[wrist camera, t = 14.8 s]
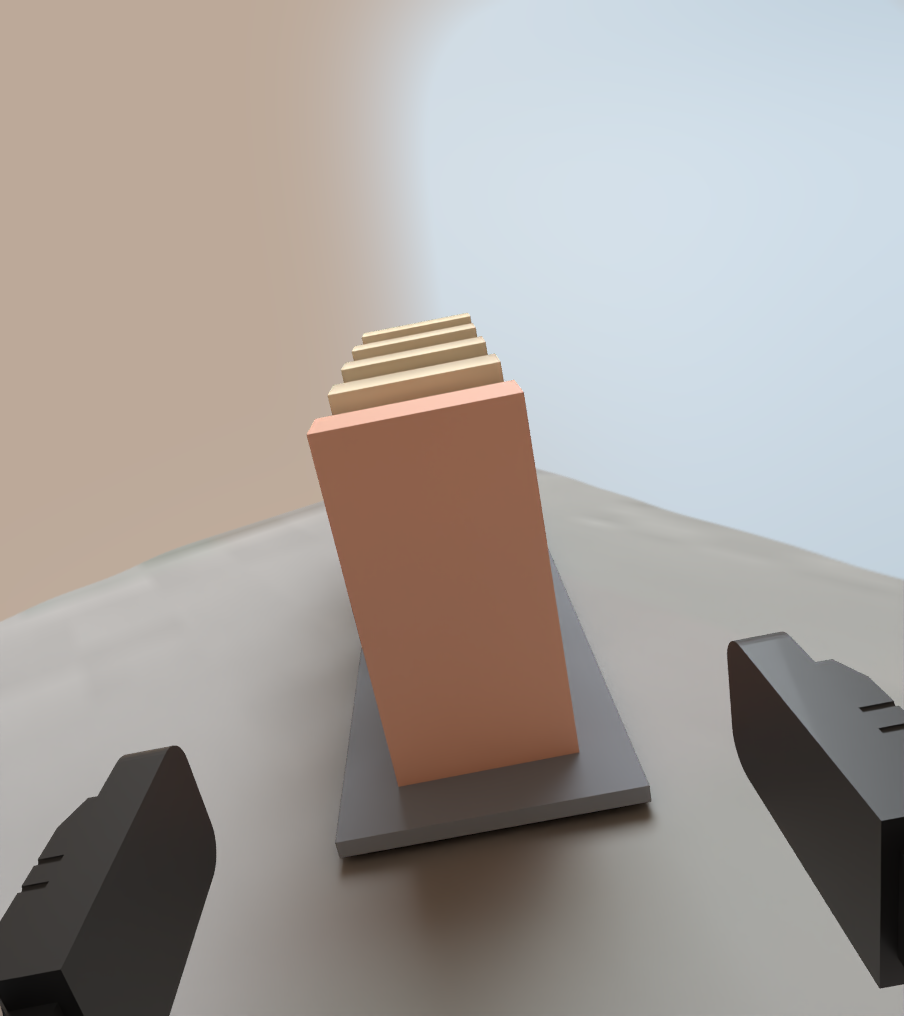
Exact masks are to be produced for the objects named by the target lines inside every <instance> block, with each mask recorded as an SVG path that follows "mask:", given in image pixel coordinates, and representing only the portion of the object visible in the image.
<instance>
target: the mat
mask: <svg viewBox="0 0 904 1016" xmlns="http://www.w3.org/2000/svg"><path fill="white" fill-rule="evenodd" d="M548 552H549V549H548ZM549 559H550V565H551V572H552V578H553V584H554V591H555V597H556V604H557V610H558V617H559V623H560V630H561V636H562V642H563V649H564V655H565V662H566V668H567V675H568V681H569V688H570V694H571V700H572V707H573V713H574V720H575V726H576V733H577V739H578V746H579V752H578V753H573V754H568V755H563V756H557V757H552V758H547V759H542V760H536V761H531V762H526V763H521V764H515V765H510V766H505V767H500V768H494V769H489V770H484V771H479V772H474V773H468V774H463V775H458V776H453V777H447V778H442V779H437V780H432V781H426V782H421V783H416V784H411V785H405V786H400V787H398V783H397V779H396V775H395V772H394V768H393V764H392V760H391V756H390V752H389V749H388V745H387V741H386V737H385V733H384V729H383V726H382V722H381V718H380V714H379V710H378V706H377V703H376V699H375V695H374V691H373V687H372V683H371V680H370V676H369V672H368V668H367V664H366V660H365V657H364V653H363V649H362V648H361V656H360V663H359V671H358V678H357V685H356V693H355V700H354V708H353V715H352V722H351V730H350V737H349V745H348V752H347V759H346V767H345V774H344V782H343V789H342V796H341V804H340V811H339V819H338V826H337V834H336V841H335V844H336V847H337V850H338V853H339V857H340V858H343V857H348V856H354V855H359V854H365V853H370V852H376V851H381V850H387V849H392V848H398V847H403V846H409V845H414V844H420V843H425V842H431V841H436V840H442V839H447V838H453V837H458V836H464V835H469V834H475V833H480V832H486V831H491V830H497V829H502V828H508V827H513V826H519V825H524V824H530V823H535V822H541V821H546V820H552V819H557V818H562V817H568V816H573V815H579V814H584V813H590V812H595V811H601V810H606V809H612V808H617V807H623V806H628V805H634V804H639V803H645V802H650V801H651V794H650V786H649V783H648V781H647V779H646V776H645V774H644V772H643V769H642V767H641V765H640V762H639V760H638V758H637V755H636V753H635V751H634V748H633V746H632V743H631V741H630V739H629V736H628V734H627V732H626V729H625V727H624V725H623V722H622V720H621V718H620V715H619V713H618V711H617V708H616V706H615V704H614V701H613V699H612V697H611V694H610V692H609V690H608V687H607V685H606V683H605V680H604V678H603V676H602V673H601V671H600V669H599V666H598V664H597V662H596V659H595V657H594V655H593V652H592V650H591V648H590V645H589V643H588V640H587V638H586V636H585V633H584V631H583V629H582V626H581V624H580V622H579V619H578V617H577V615H576V612H575V610H574V608H573V605H572V603H571V601H570V598H569V596H568V594H567V591H566V589H565V587H564V584H563V582H562V580H561V577H560V575H559V573H558V570H557V568H556V566H555V563H554V561H553V559H552V556H551V554H550V552H549Z"/></svg>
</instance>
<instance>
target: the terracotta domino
mask: <svg viewBox="0 0 904 1016" xmlns="http://www.w3.org/2000/svg"><path fill="white" fill-rule="evenodd" d="M307 438H308V442H309V445H310V449H311V453H312V457H313V461H314V465H315V469H316V472H317V476H318V480H319V484H320V488H321V491H322V496H323V499H324V503H325V507H326V511H327V515H328V519H329V522H330V526H331V530H332V534H333V538H334V542H335V545H336V549H337V553H338V557H339V561H340V565H341V568H342V572H343V576H344V580H345V584H346V588H347V591H348V595H349V599H350V603H351V607H352V611H353V614H354V618H355V622H356V626H357V630H358V634H359V637H360V641H361V645H362V649H363V653H364V657H365V660H366V664H367V668H368V672H369V676H370V680H371V683H372V687H373V691H374V695H375V699H376V703H377V706H378V710H379V714H380V718H381V722H382V726H383V729H384V733H385V737H386V741H387V745H388V749H389V752H390V756H391V760H392V764H393V768H394V772H395V775H396V779H397V783H398V787H400V786H405V785H411V784H416V783H421V782H426V781H432V780H437V779H442V778H447V777H453V776H458V775H463V774H468V773H474V772H479V771H484V770H489V769H494V768H500V767H505V766H510V765H515V764H521V763H526V762H531V761H536V760H542V759H547V758H552V757H557V756H563V755H568V754H573V753H578V752H579V746H578V739H577V733H576V726H575V720H574V713H573V707H572V700H571V694H570V688H569V681H568V675H567V668H566V662H565V655H564V649H563V642H562V636H561V630H560V623H559V617H558V610H557V604H556V597H555V591H554V584H553V578H552V572H551V565H550V559H549V552H548V546H547V539H546V533H545V526H544V520H543V514H542V507H541V501H540V494H539V488H538V481H537V475H536V468H535V462H534V456H533V449H532V443H531V436H530V430H529V423H528V417H527V410H526V404H525V398H524V392H523V391H522V389H521V388H520V387H519V385H518V384H517V383H516V381H515V380H511V381H506V382H501V383H496V384H491V385H485V386H480V387H475V388H470V389H465V390H460V391H455V392H450V393H445V394H440V395H435V396H430V397H424V398H419V399H414V400H409V401H404V402H399V403H394V404H389V405H384V406H379V407H374V408H368V409H363V410H358V411H353V412H348V413H343V414H338V415H333V416H328V417H323V418H318V419H315V420H314V422H313V424H312V426H311V428H310V429H309V431H308V433H307Z"/></svg>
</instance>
